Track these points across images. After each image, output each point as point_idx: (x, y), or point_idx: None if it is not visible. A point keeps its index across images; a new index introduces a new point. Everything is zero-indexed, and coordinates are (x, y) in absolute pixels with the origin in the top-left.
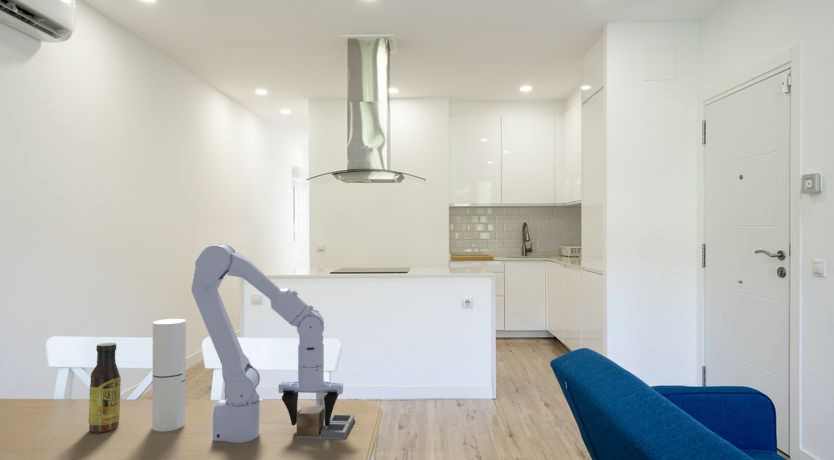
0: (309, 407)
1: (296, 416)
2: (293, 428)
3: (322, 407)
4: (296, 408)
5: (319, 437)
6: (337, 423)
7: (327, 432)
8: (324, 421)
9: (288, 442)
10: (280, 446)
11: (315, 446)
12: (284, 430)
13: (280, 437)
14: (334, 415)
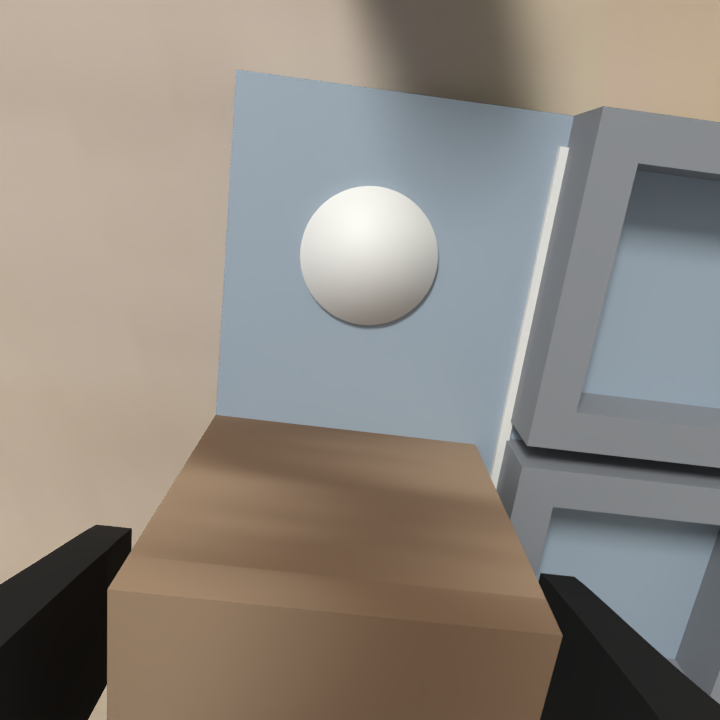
0: (266, 677)
1: (91, 613)
2: (88, 291)
3: (529, 680)
4: (14, 678)
5: None
6: (664, 499)
7: None
8: (464, 221)
9: None
10: (105, 705)
11: None
12: (3, 348)
13: (31, 528)
14: (633, 172)
